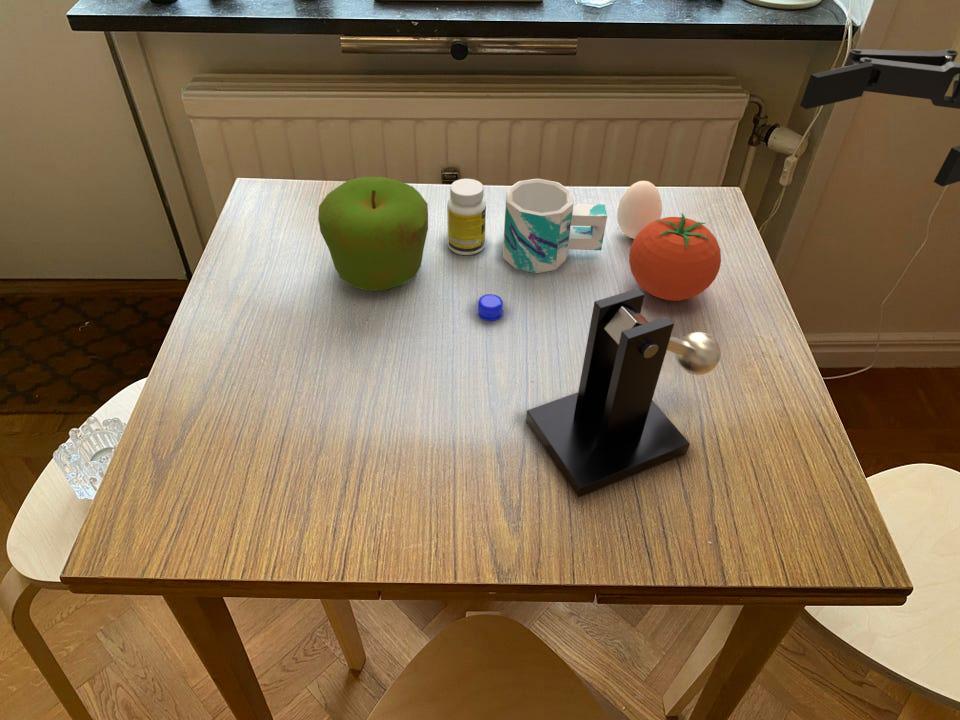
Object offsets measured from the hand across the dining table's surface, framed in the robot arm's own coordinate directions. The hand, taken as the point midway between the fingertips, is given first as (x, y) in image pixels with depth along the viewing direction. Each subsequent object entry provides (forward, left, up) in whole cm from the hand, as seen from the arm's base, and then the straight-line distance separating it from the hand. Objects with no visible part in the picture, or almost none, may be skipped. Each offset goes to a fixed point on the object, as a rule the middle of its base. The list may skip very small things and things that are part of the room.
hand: (871, 126), depth 55 cm
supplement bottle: (+34, +19, -28) cm, 48 cm away
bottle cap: (+21, +22, -28) cm, 41 cm away
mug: (+28, +10, -28) cm, 41 cm away
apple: (+33, +31, -28) cm, 53 cm away
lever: (0, +16, -19) cm, 25 cm away
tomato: (+16, +1, -28) cm, 32 cm away
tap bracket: (0, +20, -28) cm, 34 cm away
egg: (+27, -2, -28) cm, 39 cm away
